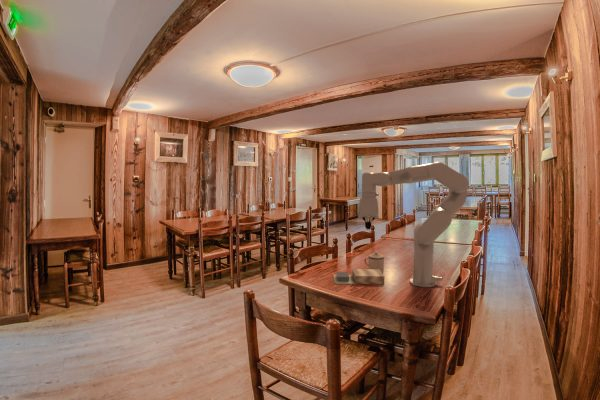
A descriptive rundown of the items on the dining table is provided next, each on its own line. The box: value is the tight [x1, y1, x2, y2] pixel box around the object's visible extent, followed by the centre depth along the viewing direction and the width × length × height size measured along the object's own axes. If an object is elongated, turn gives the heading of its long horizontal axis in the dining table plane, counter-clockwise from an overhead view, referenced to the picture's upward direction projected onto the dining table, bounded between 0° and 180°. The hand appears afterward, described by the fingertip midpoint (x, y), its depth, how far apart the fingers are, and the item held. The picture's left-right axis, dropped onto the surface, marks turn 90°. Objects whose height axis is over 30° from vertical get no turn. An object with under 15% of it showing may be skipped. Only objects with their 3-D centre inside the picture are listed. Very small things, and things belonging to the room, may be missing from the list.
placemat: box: [332, 273, 355, 285], centre depth 170 cm, size 10×15×1 cm, turn 178°
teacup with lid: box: [363, 251, 385, 273], centre depth 186 cm, size 12×9×12 cm
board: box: [351, 268, 385, 285], centre depth 169 cm, size 15×13×4 cm
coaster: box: [335, 271, 350, 281], centre depth 170 cm, size 6×9×2 cm, turn 177°
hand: (368, 229), depth 171 cm, fingers closed
